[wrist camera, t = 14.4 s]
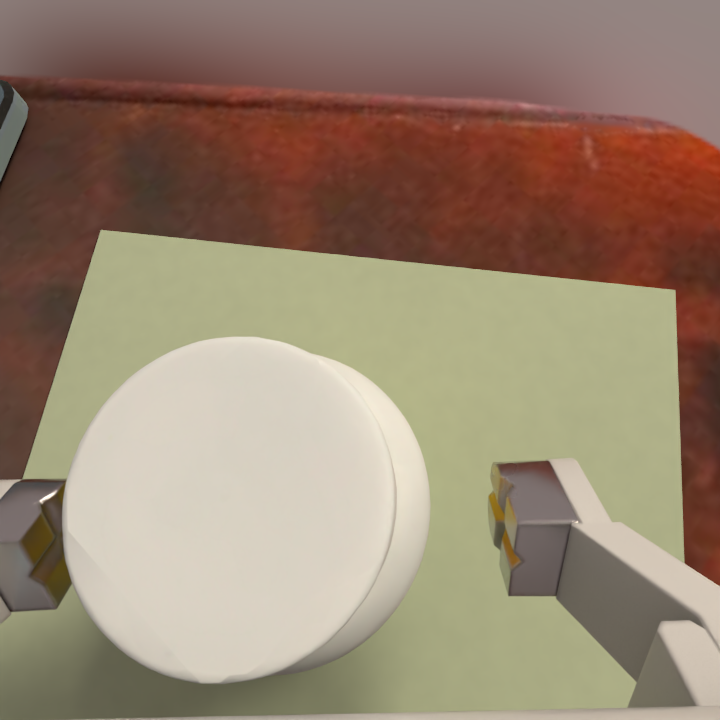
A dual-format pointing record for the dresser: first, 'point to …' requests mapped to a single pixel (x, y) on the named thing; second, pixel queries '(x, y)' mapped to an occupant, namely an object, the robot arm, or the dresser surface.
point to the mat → (438, 446)
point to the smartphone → (10, 122)
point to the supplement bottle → (244, 511)
